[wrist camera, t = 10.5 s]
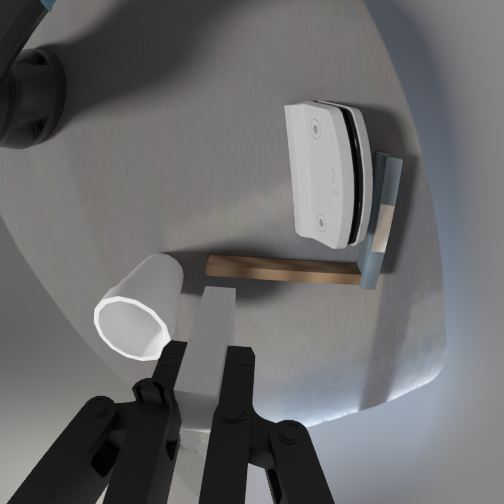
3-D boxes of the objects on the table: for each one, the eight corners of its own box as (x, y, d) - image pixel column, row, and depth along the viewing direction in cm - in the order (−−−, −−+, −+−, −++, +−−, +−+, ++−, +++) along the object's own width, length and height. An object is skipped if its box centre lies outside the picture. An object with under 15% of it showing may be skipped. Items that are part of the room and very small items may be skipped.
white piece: (284, 102, 33) (327, 98, 24) (320, 100, 34) (370, 98, 25) (296, 234, 40) (335, 269, 31) (328, 227, 41) (371, 258, 32)
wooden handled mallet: (210, 264, 43) (204, 280, 39) (210, 137, 35) (202, 141, 31) (367, 273, 42) (375, 290, 38) (390, 153, 34) (403, 159, 31)
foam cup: (124, 277, 45) (86, 332, 33) (147, 230, 41) (106, 281, 29) (177, 309, 47) (152, 371, 35) (206, 267, 43) (184, 328, 31)
